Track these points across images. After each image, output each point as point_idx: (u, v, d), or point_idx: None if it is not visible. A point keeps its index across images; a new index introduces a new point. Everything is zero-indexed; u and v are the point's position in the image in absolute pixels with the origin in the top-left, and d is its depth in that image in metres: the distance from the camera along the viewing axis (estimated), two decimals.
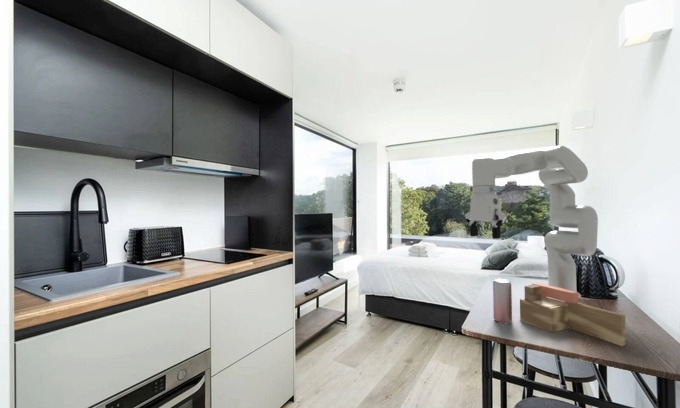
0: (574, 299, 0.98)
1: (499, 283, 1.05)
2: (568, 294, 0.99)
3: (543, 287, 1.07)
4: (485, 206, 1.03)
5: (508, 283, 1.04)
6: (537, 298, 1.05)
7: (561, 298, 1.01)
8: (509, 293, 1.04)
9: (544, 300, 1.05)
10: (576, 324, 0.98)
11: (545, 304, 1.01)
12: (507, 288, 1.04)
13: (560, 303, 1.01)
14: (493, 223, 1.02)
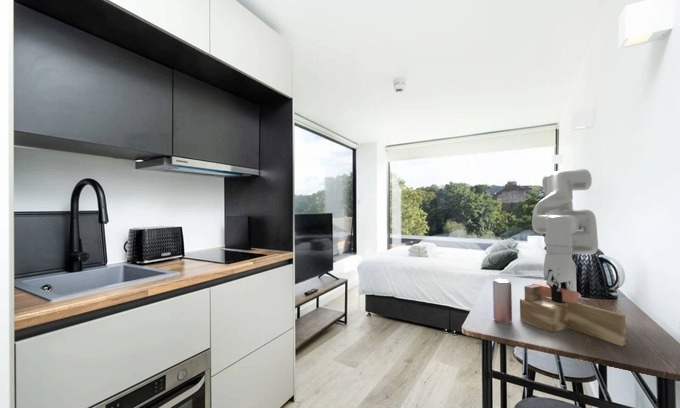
0: (574, 299, 0.98)
1: (499, 283, 1.05)
2: (568, 294, 0.99)
3: (543, 287, 1.07)
4: (571, 266, 1.02)
5: (508, 283, 1.04)
6: (537, 298, 1.05)
7: None
8: (509, 293, 1.04)
9: (544, 300, 1.05)
10: (576, 324, 0.98)
11: (545, 304, 1.01)
12: (507, 288, 1.04)
13: (560, 303, 1.01)
14: (568, 285, 1.03)
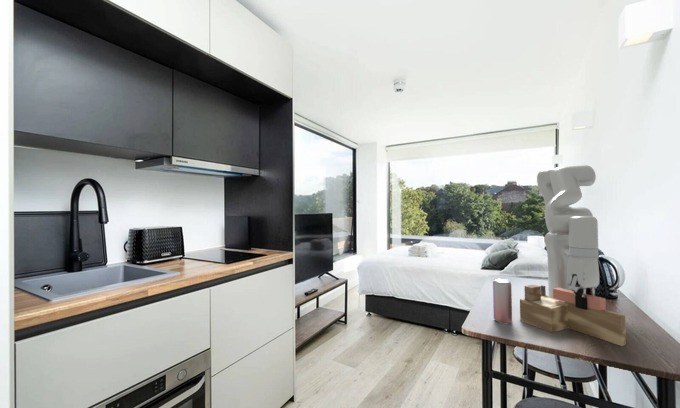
0: (601, 306, 0.91)
1: (499, 283, 1.05)
2: (595, 300, 0.92)
3: (566, 292, 1.00)
4: (596, 270, 0.95)
5: (508, 283, 1.04)
6: (537, 298, 1.05)
7: None
8: (509, 293, 1.04)
9: (544, 300, 1.05)
10: (576, 324, 0.98)
11: (545, 304, 1.01)
12: (507, 288, 1.04)
13: (560, 303, 1.01)
14: (593, 291, 0.96)
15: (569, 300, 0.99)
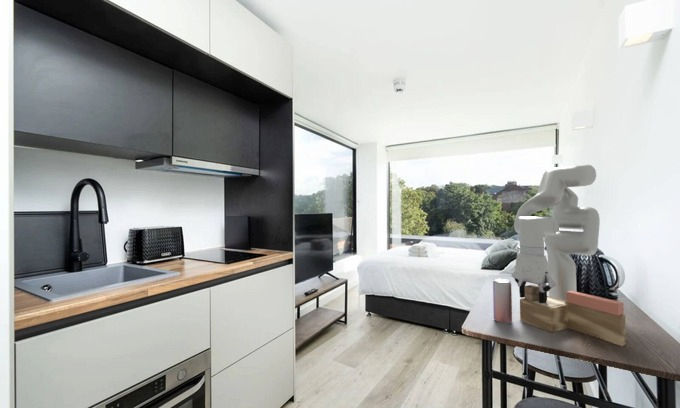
0: (619, 310, 0.87)
1: (499, 283, 1.05)
2: (612, 304, 0.88)
3: (580, 296, 0.96)
4: None
5: (508, 283, 1.04)
6: (537, 298, 1.05)
7: (603, 309, 0.90)
8: (509, 293, 1.04)
9: None
10: (576, 324, 0.98)
11: (545, 304, 1.01)
12: (507, 288, 1.04)
13: (560, 303, 1.01)
14: None
15: (584, 304, 0.95)
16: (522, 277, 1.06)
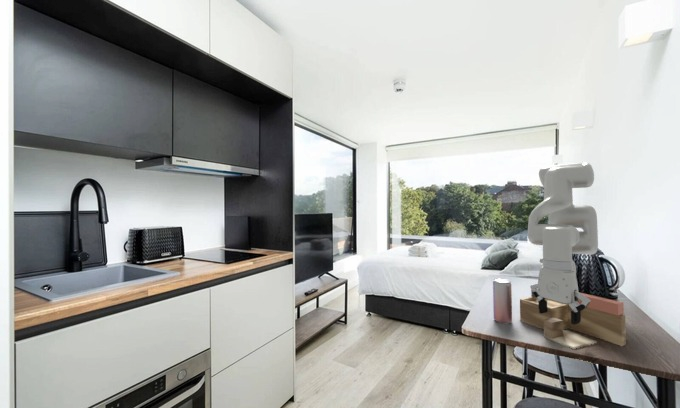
0: (619, 310, 0.87)
1: (499, 283, 1.05)
2: (612, 304, 0.88)
3: None
4: None
5: (508, 283, 1.04)
6: (559, 334, 0.92)
7: (603, 309, 0.90)
8: (509, 293, 1.04)
9: (567, 337, 0.92)
10: (576, 324, 0.98)
11: (568, 343, 0.88)
12: (507, 288, 1.04)
13: (586, 342, 0.88)
14: None
15: None
16: (546, 295, 0.94)
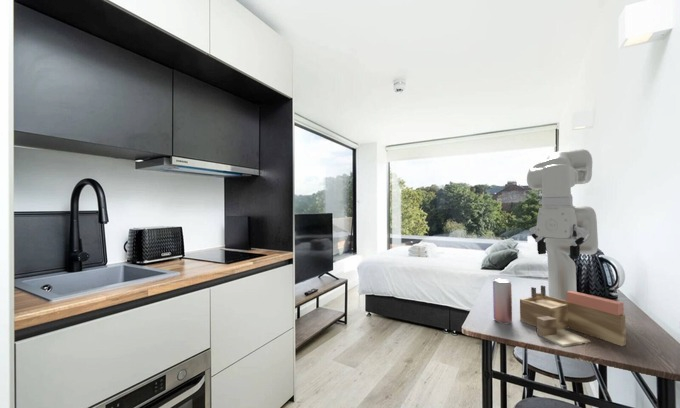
0: (619, 310, 0.87)
1: (499, 283, 1.05)
2: (612, 304, 0.88)
3: (580, 296, 0.96)
4: None
5: (508, 283, 1.04)
6: (551, 332, 0.93)
7: (603, 309, 0.90)
8: (509, 293, 1.04)
9: (560, 335, 0.93)
10: (576, 324, 0.98)
11: (559, 340, 0.89)
12: (507, 288, 1.04)
13: (578, 340, 0.89)
14: None
15: (584, 304, 0.95)
16: (545, 233, 0.94)
